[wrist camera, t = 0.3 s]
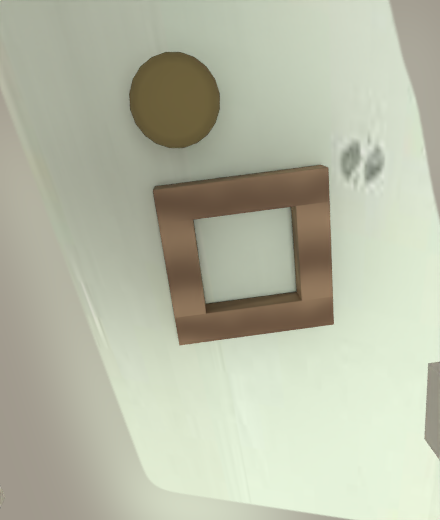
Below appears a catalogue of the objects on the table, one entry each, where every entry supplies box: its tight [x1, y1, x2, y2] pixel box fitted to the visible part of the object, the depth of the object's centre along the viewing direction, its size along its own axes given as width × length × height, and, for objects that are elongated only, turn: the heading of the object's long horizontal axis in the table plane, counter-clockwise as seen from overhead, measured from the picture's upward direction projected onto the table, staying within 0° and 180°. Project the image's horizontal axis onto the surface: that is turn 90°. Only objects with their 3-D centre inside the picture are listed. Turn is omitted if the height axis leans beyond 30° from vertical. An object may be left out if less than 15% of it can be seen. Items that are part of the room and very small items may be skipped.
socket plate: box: [153, 165, 334, 345], centre depth 37 cm, size 14×14×2 cm
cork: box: [129, 52, 220, 148], centre depth 28 cm, size 6×6×11 cm
